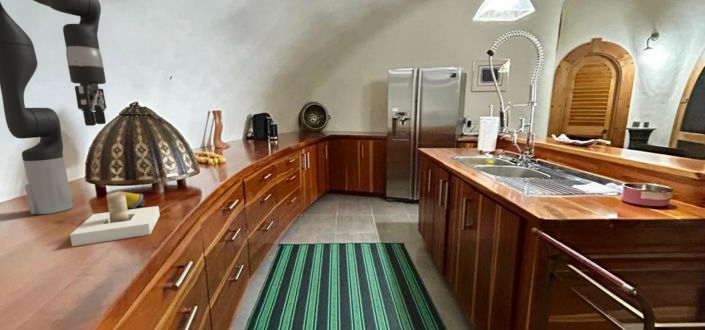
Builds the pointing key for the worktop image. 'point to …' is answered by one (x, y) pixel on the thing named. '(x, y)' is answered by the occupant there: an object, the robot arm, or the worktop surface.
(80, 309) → the worktop surface
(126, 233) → the socket board
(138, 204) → the drill bit
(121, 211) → the wooden peg
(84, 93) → the robot arm
